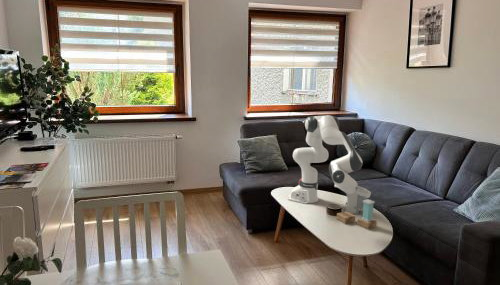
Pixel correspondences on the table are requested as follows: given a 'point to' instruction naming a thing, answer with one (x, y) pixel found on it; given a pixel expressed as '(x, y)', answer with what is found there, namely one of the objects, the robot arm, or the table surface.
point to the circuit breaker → (354, 203)
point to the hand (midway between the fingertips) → (357, 192)
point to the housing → (367, 210)
